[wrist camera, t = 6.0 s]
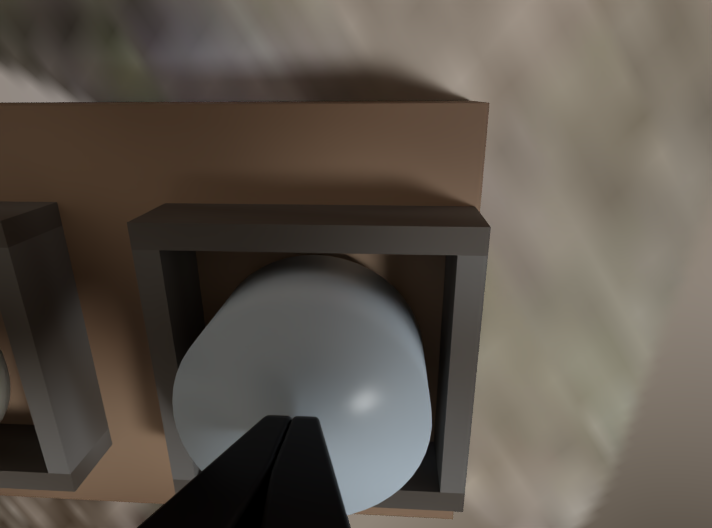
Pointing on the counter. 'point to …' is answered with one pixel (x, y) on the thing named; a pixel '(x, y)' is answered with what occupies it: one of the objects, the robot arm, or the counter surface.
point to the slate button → (313, 372)
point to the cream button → (4, 386)
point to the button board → (218, 267)
